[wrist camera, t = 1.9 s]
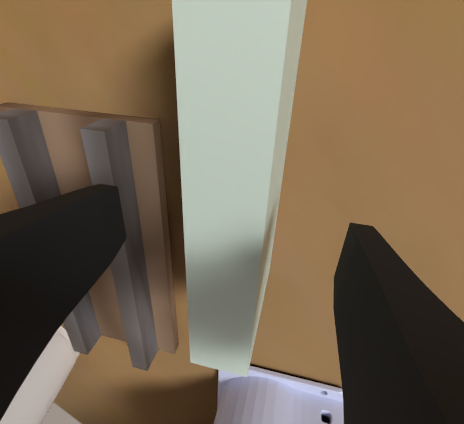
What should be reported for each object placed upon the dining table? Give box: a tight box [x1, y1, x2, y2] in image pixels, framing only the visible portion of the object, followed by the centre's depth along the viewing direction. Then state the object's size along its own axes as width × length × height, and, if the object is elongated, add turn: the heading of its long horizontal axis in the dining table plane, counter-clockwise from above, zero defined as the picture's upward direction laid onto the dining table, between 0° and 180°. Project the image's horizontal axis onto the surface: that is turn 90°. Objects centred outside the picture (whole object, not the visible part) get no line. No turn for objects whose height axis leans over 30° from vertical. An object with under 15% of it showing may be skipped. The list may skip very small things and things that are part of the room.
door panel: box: [172, 0, 307, 377], centre depth 12 cm, size 2×14×7 cm, turn 178°
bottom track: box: [0, 103, 178, 371], centre depth 20 cm, size 9×18×3 cm, turn 178°
